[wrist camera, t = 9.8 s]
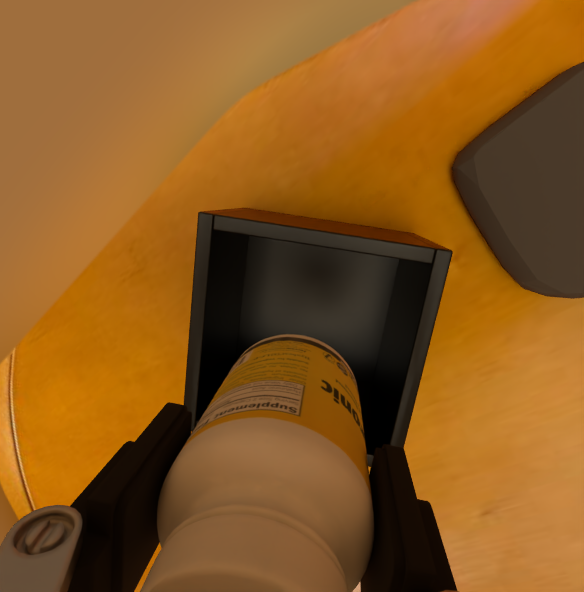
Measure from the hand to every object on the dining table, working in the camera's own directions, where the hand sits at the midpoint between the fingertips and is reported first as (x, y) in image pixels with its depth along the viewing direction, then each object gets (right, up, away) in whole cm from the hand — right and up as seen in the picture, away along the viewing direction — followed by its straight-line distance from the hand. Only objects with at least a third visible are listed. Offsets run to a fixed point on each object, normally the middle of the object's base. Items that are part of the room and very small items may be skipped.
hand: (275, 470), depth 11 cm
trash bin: (+2, +5, +18) cm, 19 cm away
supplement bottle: (+1, +1, +5) cm, 5 cm away
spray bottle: (+22, +7, +16) cm, 28 cm away
